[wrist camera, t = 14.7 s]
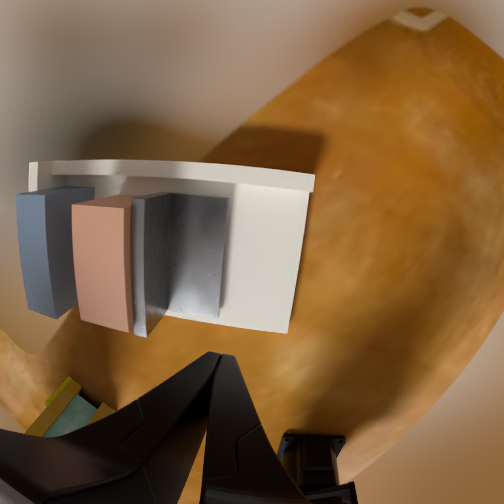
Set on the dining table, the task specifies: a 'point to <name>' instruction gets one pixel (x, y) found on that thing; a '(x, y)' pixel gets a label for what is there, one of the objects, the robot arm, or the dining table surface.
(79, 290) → the book block
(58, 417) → the book
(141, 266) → the bookend
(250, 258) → the shelf
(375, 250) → the dining table surface
